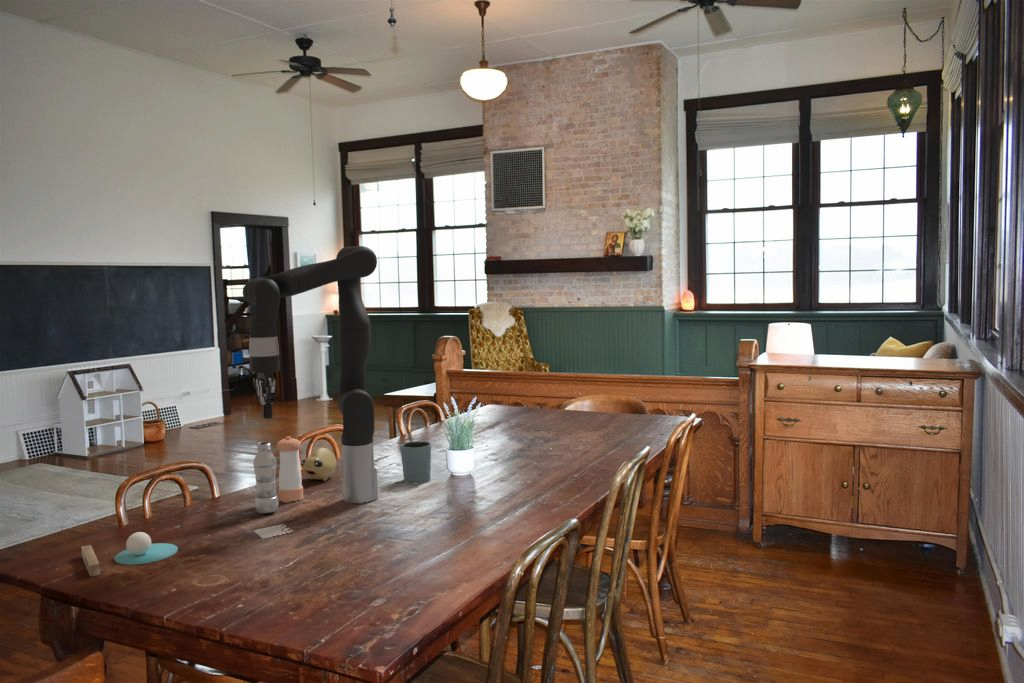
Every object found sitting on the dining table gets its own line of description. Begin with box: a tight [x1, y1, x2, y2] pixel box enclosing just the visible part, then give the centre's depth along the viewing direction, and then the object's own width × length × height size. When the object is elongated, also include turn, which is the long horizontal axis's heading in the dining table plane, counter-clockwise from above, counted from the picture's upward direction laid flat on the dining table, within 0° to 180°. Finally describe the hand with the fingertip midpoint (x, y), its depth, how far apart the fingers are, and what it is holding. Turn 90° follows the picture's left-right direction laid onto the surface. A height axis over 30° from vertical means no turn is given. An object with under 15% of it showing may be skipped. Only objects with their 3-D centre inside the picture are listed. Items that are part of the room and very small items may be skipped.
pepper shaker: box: [276, 435, 304, 503], centre depth 230 cm, size 7×7×19 cm
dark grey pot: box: [399, 440, 432, 484], centre depth 249 cm, size 10×10×12 cm
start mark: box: [253, 523, 293, 540], centre depth 201 cm, size 8×8×1 cm
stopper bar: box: [81, 544, 101, 578], centre depth 179 cm, size 2×16×2 cm, turn 35°
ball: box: [125, 531, 152, 555], centre depth 186 cm, size 6×6×6 cm
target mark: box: [113, 542, 179, 566], centre depth 186 cm, size 14×14×1 cm
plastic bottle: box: [252, 441, 280, 514], centre depth 217 cm, size 6×7×20 cm
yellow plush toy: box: [300, 447, 337, 482], centre depth 252 cm, size 10×12×11 cm
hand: (267, 418), depth 205 cm, fingers closed
